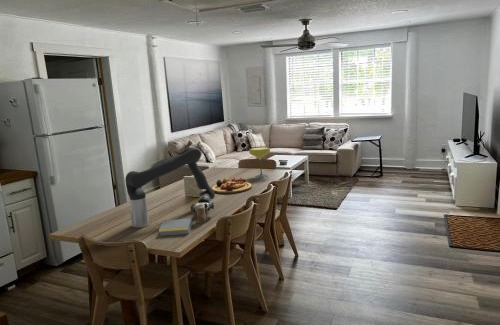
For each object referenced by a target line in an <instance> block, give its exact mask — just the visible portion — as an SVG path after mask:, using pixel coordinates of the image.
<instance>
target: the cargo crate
mask: <svg viewBox="0 0 500 325" xmlns="http://www.w3.org/2000/svg"><path fill="white" fill-rule="evenodd" d="M195 205H196V207H195V209H196V211H195V212H196V219H197V224H202V223H206V222H207V215H206V210H205V205H204V203H198V202H197V203H196V204H195Z"/></svg>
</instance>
